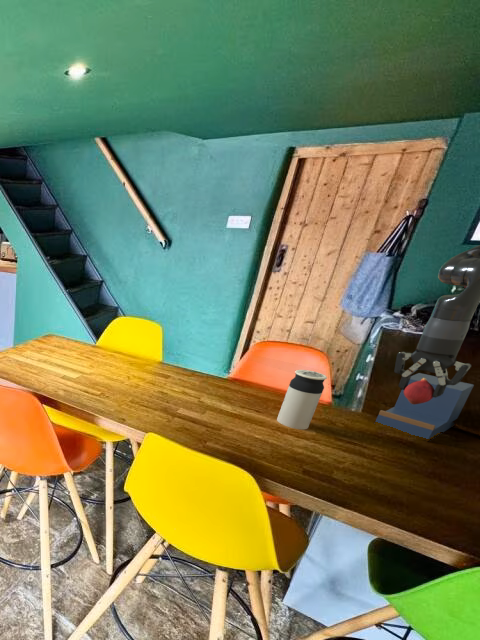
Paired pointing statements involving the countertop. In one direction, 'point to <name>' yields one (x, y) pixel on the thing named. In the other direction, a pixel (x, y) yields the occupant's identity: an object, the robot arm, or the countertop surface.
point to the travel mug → (301, 399)
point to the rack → (427, 410)
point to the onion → (419, 391)
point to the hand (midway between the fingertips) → (418, 392)
